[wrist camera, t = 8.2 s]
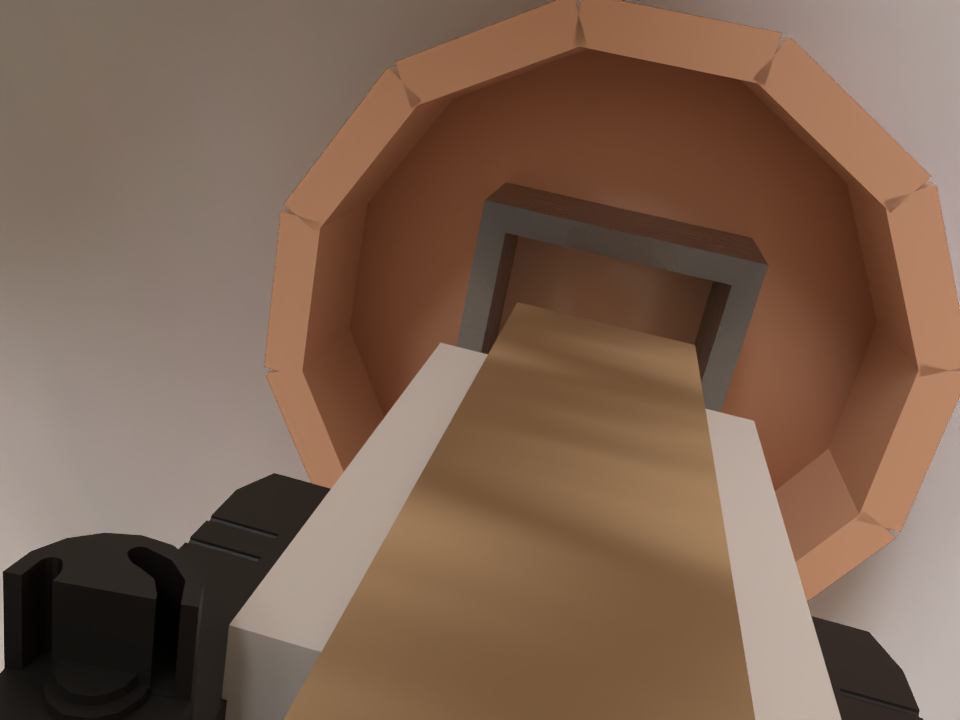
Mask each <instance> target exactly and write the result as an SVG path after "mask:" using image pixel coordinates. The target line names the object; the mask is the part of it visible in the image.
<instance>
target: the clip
mask: <svg viewBox="0 0 960 720" xmlns="http://www.w3.org/2000/svg"><path fill="white" fill-rule="evenodd" d="M519 236H522V237H526V238H531V239H535V240H539V241H544V242H548V243H552V244H556V245H561V246H565V247H569V248H574V249H578V250H582V251H587V252H591V253H595V254H599V255H604V256H608V257H612V258H617V259H621V260H625V261H630V262H634V263H638V264H642V265H647V266H651V267H655V268H660V269H664V270H668V271H673V272H677V273H681V274H685V275H690V276H694V277H698V278H703V279H707V280H711V281H713V284H712V287H711V290H710V294H709V297H708V300H707V303H706V307H705V310H704V313H703V317H702V320H701V323H700V326H699V330H698V333H697V336H696V340H695V343H694V345H695V347H696V354H697V360H698V366H699V372H700V378H701V385H702V391H703V397H704V403H705V409H709V410H713V411H717V412H721V409H722V406H723V403H724V400H725V397H726V394H727V391H728V388H729V385H730V382H731V379H732V376H733V373H734V370H735V366H736V363H737V360H738V357H739V354H740V351H741V348H742V345H743V342H744V339H745V336H746V333H747V330H748V327H749V324H750V320H751V317H752V314H753V311H754V308H755V305H756V302H757V299H758V296H759V293H760V290H761V287H762V284H763V281H764V277H765V274H766V271H767V268H768V263H767V262H766V260H765V258H764V257H763V255H762V253H761V251H760V250H759V248H758V246H757V245H756V243H755V241H754V240H753V238H751V237H746V236H742V235H738V234H733V233H729V232H724V231H720V230H715V229H711V228H707V227H702V226H698V225H693V224H689V223H684V222H680V221H676V220H671V219H667V218H662V217H658V216H653V215H649V214H645V213H640V212H636V211H631V210H627V209H622V208H618V207H614V206H609V205H605V204H600V203H596V202H591V201H587V200H583V199H578V198H574V197H569V196H565V195H560V194H556V193H552V192H547V191H543V190H538V189H534V188H530V187H525V186H521V185H516V184H512V183H507V182H506V183H504V184H503V185H502V186H501V187H500V188H498V189H497V190H496V191H495V192H494V193H493V194H491V195H490V196H489V197H488V198H487V199H485V201H484V206H483V211H482V216H481V222H480V227H479V232H478V237H477V242H476V247H475V253H474V258H473V263H472V268H471V273H470V278H469V283H468V289H467V294H466V299H465V304H464V309H463V314H462V320H461V325H460V330H459V335H458V340H457V345H456V347H460V348H464V349H468V350H472V351H476V352H480V353H484V354H489V352H490V350H491V348H492V347H493V345H494V343H495V341H496V339H497V336H498V331H499V327H500V322H501V317H502V312H503V308H504V303H505V298H506V294H507V289H508V284H509V279H510V275H511V270H512V265H513V261H514V256H515V251H516V246H517V242H518V237H519Z"/></svg>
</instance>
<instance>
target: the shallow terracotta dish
mask: <svg viewBox="0 0 960 720" xmlns="http://www.w3.org/2000/svg"><path fill="white" fill-rule="evenodd" d="M780 36H781V33H780V32H775V31H770V30H765V29H760V28H755V27H750V26H745V25H740V24H735V23H730V22H725V21H720V20H715V19H710V18H705V17H700V16H695V15H690V14H685V13H680V12H675V11H670V10H665V9H660V8H655V7H650V6H645V5H640V4H635V3H630V2H624V1H619V0H582V2H581V1H580V0H556V1H554V2H551V3H548V4H546V5H543V6H541V7H538V8H535V9H533V10H530V11H527V12H525V13H522V14H520V15H517V16H514V17H512V18H509V19H506V20H504V21H501V22H499V23H496V24H493V25H491V26H488V27H485V28H483V29H480V30H478V31H475V32H472V33H470V34H467V35H465V36H462V37H459V38H457V39H454V40H451V41H449V42H446V43H444V44H441V45H438V46H436V47H433V48H430V49H428V50H425V51H423V52H420V53H417V54H415V55H412V56H409V57H407V58H404V59H402V60H399V61H396V62H395V63H396V66H397V68H387V69H386V70H385V72H384V73H383V74H382V76H381V77H380V78H379V79H378V81H377V82H376V83H375V85H374V86H373V87H372V89H371V90H370V91H369V93H368V94H367V95H366V97H365V98H364V99H363V101H362V102H361V103H360V104H359V106H358V107H357V108H356V110H355V111H354V112H353V114H352V115H351V116H350V118H349V119H348V120H347V122H346V123H345V124H344V126H343V127H342V128H341V129H340V131H339V132H338V133H337V135H336V136H335V137H334V139H333V140H332V141H331V143H330V144H329V145H328V147H327V148H326V149H325V151H324V152H323V153H322V154H321V156H320V157H319V158H318V160H317V161H316V162H315V164H314V165H313V166H312V168H311V169H310V170H309V172H308V173H307V174H306V176H305V177H304V178H303V179H302V181H301V182H300V183H299V185H298V186H297V187H296V189H295V190H294V191H293V193H292V194H291V195H290V197H289V198H288V199H287V201H286V202H285V203H284V205H285V206H287V207H288V208H289V209H287V210H285V211H282V212H281V214H280V224H279V233H278V242H277V252H276V261H275V271H274V280H273V289H272V299H271V308H270V318H269V327H268V337H267V346H266V355H265V365H264V367H265V368H269V369H272V370H271V371H270V372H269V373H267V374H266V378H267V380H268V382H269V385H270V387H271V389H272V392H273V394H274V396H275V399H276V401H277V404H278V406H279V408H280V411H281V413H282V415H283V418H284V420H285V422H286V425H287V427H288V429H289V432H290V434H291V437H292V439H293V441H294V444H295V446H296V448H297V451H298V453H299V455H300V458H301V460H302V463H303V465H304V467H305V470H306V472H307V474H308V477H309V479H310V481H311V483H312V484H316V485H319V486H323V487H327V488H330V489H331V488H332V487H333V486H334V484H335V483H336V482H337V480H338V479H339V478H340V476H341V475H342V474H343V472H344V471H345V470H346V468H347V467H348V466H349V464H350V463H351V462H352V460H353V459H354V458H355V456H356V455H357V454H358V452H359V451H360V450H361V448H362V447H363V445H364V444H365V443H366V441H367V440H368V439H369V437H370V436H371V435H372V433H373V432H374V431H375V429H376V428H377V427H378V425H379V424H380V423H381V421H382V420H383V419H384V417H385V416H386V415H387V413H388V412H389V411H390V409H391V408H392V407H393V405H394V404H395V403H396V401H397V400H398V399H399V397H400V396H401V395H402V393H403V392H404V391H405V389H406V388H407V387H408V385H409V384H410V383H411V381H412V380H413V379H414V377H415V376H416V375H417V373H418V372H419V371H420V369H421V368H422V367H423V365H424V364H425V363H426V361H427V360H428V359H429V357H430V356H431V355H432V353H433V352H434V351H435V349H436V348H437V347H438V345H439V344H440V343H444V344H448V345H452V346H456V345H457V340H458V335H459V330H460V325H461V320H462V314H463V309H464V304H465V299H466V294H467V289H468V283H469V278H470V273H471V268H472V263H473V258H474V253H475V247H476V242H477V237H478V232H479V227H480V222H481V216H482V211H483V206H484V201H485V199H487V198H488V197H489V196H490V195H491V194H493V193H494V192H495V191H496V190H497V189H498V188H500V187H501V186H502V185H503V184H504V183H506V182H507V183H512V184H516V185H521V186H525V187H530V188H534V189H538V190H543V191H547V192H552V193H556V194H560V195H565V196H569V197H574V198H578V199H583V200H587V201H591V202H596V203H600V204H605V205H609V206H614V207H618V208H622V209H627V210H631V211H636V212H640V213H645V214H649V215H653V216H658V217H662V218H667V219H671V220H676V221H680V222H684V223H689V224H693V225H698V226H702V227H707V228H711V229H715V230H720V231H724V232H729V233H733V234H738V235H742V236H746V237H751V238H753V240H754V241H755V243H756V245H757V246H758V248H759V250H760V251H761V253H762V255H763V257H764V258H765V260H766V262H767V263H768V268H767V271H766V274H765V277H764V281H763V284H762V287H761V290H760V293H759V296H758V299H757V302H756V305H755V308H754V311H753V314H752V317H751V320H750V324H749V327H748V330H747V333H746V336H745V339H744V342H743V345H742V348H741V351H740V354H739V357H738V360H737V363H736V366H735V370H734V373H733V376H732V379H731V382H730V385H729V388H728V391H727V394H726V397H725V400H724V403H723V406H722V409H721V413H725V414H729V415H733V416H737V417H741V418H745V419H749V420H753V421H754V422H755V426H756V429H757V433H758V436H759V439H760V443H761V446H762V450H763V453H764V457H765V460H766V463H767V467H768V470H769V474H770V477H771V480H772V484H773V487H774V491H775V494H776V498H777V501H778V504H779V508H780V511H781V515H782V518H783V521H784V525H785V528H786V532H787V535H788V539H789V542H790V545H791V549H792V552H793V556H794V559H795V562H796V566H797V569H798V573H799V576H800V580H801V583H802V586H803V590H804V593H805V597H806V600H807V601H809V600H810V599H811V598H813V597H814V596H816V595H817V594H818V593H820V592H821V591H823V590H824V589H825V588H827V587H828V586H830V585H831V584H832V583H834V582H835V581H836V580H838V579H839V578H841V577H842V576H843V575H845V574H846V573H848V572H849V571H850V570H852V569H853V568H855V567H856V566H857V565H859V564H860V563H861V562H863V561H864V560H866V559H867V558H868V557H870V556H871V555H873V554H874V553H875V552H877V551H878V550H880V549H881V548H882V547H884V546H885V545H886V544H888V543H889V542H891V541H892V540H893V539H895V538H894V536H893V534H892V532H891V530H890V529H893V530H896V531H900V532H901V529H902V527H903V525H904V523H905V520H906V518H907V516H908V513H909V511H910V509H911V507H912V504H913V502H914V500H915V497H916V495H917V493H918V491H919V488H920V486H921V484H922V481H923V479H924V477H925V474H926V472H927V470H928V468H929V465H930V463H931V461H932V458H933V456H934V454H935V452H936V449H937V447H938V445H939V442H940V440H941V438H942V436H943V433H944V431H945V429H946V426H947V424H948V422H949V420H950V417H951V415H952V413H953V410H954V408H955V406H956V404H957V401H958V399H959V397H960V309H959V304H958V298H957V293H956V287H955V282H954V277H953V271H952V266H951V261H950V255H949V250H948V245H947V239H946V234H945V228H944V223H943V218H942V212H941V207H940V202H939V196H938V191H937V186H936V185H934V184H932V183H930V182H927V180H928V179H929V178H930V177H932V176H931V175H930V174H929V173H928V172H927V171H926V170H925V169H924V168H923V167H922V166H921V165H920V164H919V163H918V162H917V161H916V160H914V159H913V158H912V157H911V156H910V155H909V154H908V153H907V152H906V151H905V150H904V149H903V148H902V147H901V146H900V145H899V144H898V143H897V142H896V141H895V140H894V139H893V138H892V137H891V136H890V135H889V134H888V133H887V132H886V131H885V130H884V129H883V128H882V127H881V126H880V125H879V124H878V123H877V122H876V121H875V120H874V119H873V118H872V117H871V116H870V115H869V114H868V113H867V112H866V111H865V110H864V109H863V108H862V107H861V106H860V105H859V104H858V103H857V102H856V101H855V100H854V99H853V98H852V97H851V96H850V95H849V94H848V93H847V92H845V91H844V90H843V89H842V88H841V87H840V86H839V85H838V84H837V83H836V82H835V81H834V80H833V79H832V78H831V77H830V76H829V75H828V74H827V73H826V72H825V71H824V70H823V69H822V68H821V67H820V66H819V65H818V64H817V63H816V62H815V61H814V60H813V59H812V58H811V57H810V56H809V55H808V54H807V53H806V52H805V51H804V50H803V49H802V48H801V47H800V46H799V45H798V44H797V43H796V42H795V41H794V40H793V39H792V38H786V39H780ZM779 39H780V40H779ZM712 284H713V281H711V280H707V279H703V278H698V277H694V276H690V275H685V274H681V273H677V272H673V271H668V270H664V269H660V268H655V267H651V266H647V265H642V264H638V263H634V262H630V261H625V260H621V259H617V258H612V257H608V256H604V255H599V254H595V253H591V252H587V251H582V250H578V249H574V248H569V247H565V246H561V245H556V244H552V243H548V242H544V241H539V240H535V239H531V238H526V237H522V236H519V237H518V242H517V246H516V251H515V256H514V261H513V265H512V270H511V275H510V279H509V284H508V289H507V294H506V298H505V303H504V308H503V312H502V317H501V322H500V327H499V331H498V336H499V334H500V332H501V330H502V329H503V327H504V325H505V323H506V322H507V320H508V318H509V316H510V314H511V313H512V311H513V309H514V307H515V305H516V304H517V302H519V303H523V304H528V305H532V306H536V307H540V308H544V309H548V310H552V311H556V312H561V313H565V314H569V315H573V316H577V317H581V318H585V319H589V320H594V321H598V322H602V323H606V324H610V325H614V326H618V327H622V328H627V329H631V330H635V331H639V332H643V333H647V334H651V335H656V336H660V337H664V338H668V339H672V340H676V341H680V342H684V343H689V344H693V345H694V343H695V340H696V336H697V333H698V330H699V326H700V323H701V320H702V317H703V313H704V310H705V307H706V303H707V300H708V297H709V294H710V290H711V287H712ZM498 336H497V338H498Z"/></svg>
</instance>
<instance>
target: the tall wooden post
mask: <svg viewBox="0 0 960 720" xmlns="http://www.w3.org/2000/svg"><path fill="white" fill-rule="evenodd" d="M284 720H755V715H754V708H753V702H752V696H751V690H750V683H749V677H748V671H747V665H746V659H745V652H744V646H743V640H742V634H741V627H740V621H739V615H738V609H737V603H736V596H735V590H734V584H733V578H732V571H731V565H730V559H729V553H728V546H727V540H726V534H725V528H724V522H723V515H722V509H721V503H720V497H719V490H718V484H717V478H716V472H715V466H714V459H713V453H712V447H711V441H710V434H709V428H708V422H707V416H706V410H705V403H704V397H703V391H702V385H701V378H700V372H699V366H698V360H697V354H696V347H695V345H693V344H689V343H684V342H680V341H676V340H672V339H668V338H664V337H660V336H656V335H651V334H647V333H643V332H639V331H635V330H631V329H627V328H622V327H618V326H614V325H610V324H606V323H602V322H598V321H594V320H589V319H585V318H581V317H577V316H573V315H569V314H565V313H561V312H556V311H552V310H548V309H544V308H540V307H536V306H532V305H528V304H523V303H519V302H517V304H516V305H515V307H514V309H513V311H512V313H511V314H510V316H509V318H508V320H507V322H506V323H505V325H504V327H503V329H502V330H501V332H500V334H499V336H498V338H497V339H496V341H495V343H494V345H493V347H492V348H491V350H490V352H489V354H488V355H487V357H486V359H485V361H484V363H483V364H482V366H481V368H480V370H479V372H478V373H477V375H476V377H475V379H474V380H473V382H472V384H471V386H470V388H469V389H468V391H467V393H466V395H465V397H464V398H463V400H462V402H461V404H460V405H459V407H458V409H457V411H456V413H455V414H454V416H453V418H452V420H451V422H450V423H449V425H448V427H447V429H446V430H445V432H444V434H443V436H442V438H441V439H440V441H439V443H438V445H437V447H436V448H435V450H434V452H433V454H432V455H431V457H430V459H429V461H428V463H427V464H426V466H425V468H424V470H423V472H422V473H421V475H420V477H419V479H418V480H417V482H416V484H415V486H414V488H413V489H412V491H411V493H410V495H409V497H408V498H407V500H406V502H405V504H404V505H403V507H402V509H401V511H400V513H399V514H398V516H397V518H396V520H395V522H394V523H393V525H392V527H391V529H390V530H389V532H388V534H387V536H386V538H385V539H384V541H383V543H382V545H381V547H380V548H379V550H378V552H377V554H376V555H375V557H374V559H373V561H372V563H371V564H370V566H369V568H368V570H367V572H366V573H365V575H364V577H363V579H362V580H361V582H360V584H359V586H358V588H357V589H356V591H355V593H354V595H353V597H352V598H351V600H350V602H349V604H348V605H347V607H346V609H345V611H344V613H343V614H342V616H341V618H340V620H339V622H338V623H337V625H336V627H335V629H334V630H333V632H332V634H331V636H330V638H329V639H328V641H327V643H326V645H325V646H324V648H323V650H322V652H321V654H320V655H319V657H318V659H317V661H316V663H315V664H314V666H313V668H312V670H311V671H310V673H309V675H308V677H307V679H306V680H305V682H304V684H303V686H302V688H301V689H300V691H299V693H298V695H297V696H296V698H295V700H294V702H293V704H292V705H291V707H290V709H289V711H288V713H287V714H286V716H285V718H284Z"/></svg>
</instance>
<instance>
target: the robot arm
mask: <svg viewBox="0 0 960 720" xmlns="http://www.w3.org/2000/svg"><path fill="white" fill-rule="evenodd" d="M487 355H488V354H484V353H480V352H476V351H472V350H468V349H464V348H460V347H456V346H452V345H448V344H444V343H440V344H439V345H438V347H437V348H436V349H435V351H434V352H433V353H432V355H431V356H430V357H429V359H428V360H427V361H426V363H425V364H424V365H423V367H422V368H421V369H420V371H419V372H418V373H417V375H416V376H415V377H414V379H413V380H412V381H411V383H410V384H409V385H408V387H407V388H406V389H405V391H404V392H403V393H402V395H401V396H400V397H399V399H398V400H397V401H396V403H395V404H394V405H393V407H392V408H391V409H390V411H389V412H388V413H387V415H386V416H385V417H384V419H383V420H382V421H381V423H380V424H379V425H378V427H377V428H376V429H375V431H374V432H373V433H372V435H371V436H370V437H369V439H368V440H367V441H366V443H365V444H364V445H363V447H362V448H361V450H360V451H359V452H358V454H357V455H356V456H355V458H354V459H353V460H352V462H351V463H350V464H349V466H348V467H347V468H346V470H345V471H344V472H343V474H342V475H341V476H340V478H339V479H338V480H337V482H336V483H335V484H334V486H333V487H332V488H331V489H330V488H327V487H323V486H319V485H316V484H312V483H308V482H305V481H301V480H297V479H294V478H290V477H286V476H283V475H279V474H275V473H274V474H272V475H269V476H267V477H265V478H262V479H260V480H258V481H256V482H253V483H251V484H249V485H247V486H244V487H242V488H240V489H237V490H236V491H235V492H234V493H233V494H232V495H231V496H230V497H229V498H228V499H227V500H226V501H225V502H224V503H223V504H222V505H221V506H220V507H219V508H218V509H217V510H216V511H215V513H214V514H213V515H212V516H211V520H210V521H206V522H205V523H204V524H203V525H202V526H201V527H200V528H199V529H198V530H197V531H196V532H195V533H194V534H193V535H192V536H191V538H190V541H189V543H184V545H183V546H182V547H181V548H180V549H179V550H178V549H177V548H176V547H174V546H173V545H170V544H167V543H164V542H161V541H158V540H154V539H151V538H148V537H145V536H142V535H128V534H113V533H101V534H94V535H87V536H80V537H72V538H66V539H63V540H61V541H58V542H55V543H53V544H50V545H47V546H44V547H42V548H39V549H36V550H34V551H31V552H30V553H28V554H27V555H25V556H24V557H23V558H21V559H20V560H19V561H17V562H16V563H14V564H13V565H12V566H10V567H9V568H8V569H6V570H5V571H3V593H4V658H5V669H4V670H3V671H2V672H1V673H0V720H284V718H285V716H286V714H287V713H288V711H289V709H290V707H291V705H292V704H293V702H294V700H295V698H296V696H297V695H298V693H299V691H300V689H301V688H302V686H303V684H304V682H305V680H306V679H307V677H308V675H309V673H310V671H311V670H312V668H313V666H314V664H315V663H316V661H317V659H318V657H319V655H320V654H321V652H322V650H323V648H324V646H325V645H326V643H327V641H328V639H329V638H330V636H331V634H332V632H333V630H334V629H335V627H336V625H337V623H338V622H339V620H340V618H341V616H342V614H343V613H344V611H345V609H346V607H347V605H348V604H349V602H350V600H351V598H352V597H353V595H354V593H355V591H356V589H357V588H358V586H359V584H360V582H361V580H362V579H363V577H364V575H365V573H366V572H367V570H368V568H369V566H370V564H371V563H372V561H373V559H374V557H375V555H376V554H377V552H378V550H379V548H380V547H381V545H382V543H383V541H384V539H385V538H386V536H387V534H388V532H389V530H390V529H391V527H392V525H393V523H394V522H395V520H396V518H397V516H398V514H399V513H400V511H401V509H402V507H403V505H404V504H405V502H406V500H407V498H408V497H409V495H410V493H411V491H412V489H413V488H414V486H415V484H416V482H417V480H418V479H419V477H420V475H421V473H422V472H423V470H424V468H425V466H426V464H427V463H428V461H429V459H430V457H431V455H432V454H433V452H434V450H435V448H436V447H437V445H438V443H439V441H440V439H441V438H442V436H443V434H444V432H445V430H446V429H447V427H448V425H449V423H450V422H451V420H452V418H453V416H454V414H455V413H456V411H457V409H458V407H459V405H460V404H461V402H462V400H463V398H464V397H465V395H466V393H467V391H468V389H469V388H470V386H471V384H472V382H473V380H474V379H475V377H476V375H477V373H478V372H479V370H480V368H481V366H482V364H483V363H484V361H485V359H486V357H487ZM705 410H706V416H707V422H708V428H709V434H710V441H711V447H712V453H713V459H714V466H715V472H716V478H717V484H718V490H719V497H720V503H721V509H722V515H723V522H724V528H725V534H726V540H727V546H728V553H729V559H730V565H731V571H732V578H733V584H734V590H735V596H736V603H737V609H738V615H739V621H740V627H741V634H742V640H743V646H744V652H745V659H746V665H747V671H748V677H749V683H750V690H751V696H752V702H753V708H754V715H755V720H923V718H919V711H920V710H919V708H918V706H917V703H916V701H915V698H914V696H913V694H912V691H911V689H910V687H909V684H908V682H907V679H906V677H905V675H904V672H903V670H902V669H901V668H900V667H899V666H898V665H897V663H896V662H895V661H894V660H893V659H892V658H891V657H890V655H889V654H888V653H887V652H886V651H885V650H884V649H883V648H882V646H881V645H880V644H879V643H878V642H877V641H876V640H875V638H874V637H873V636H872V635H871V634H870V633H869V632H867V631H864V630H860V629H856V628H853V627H849V626H845V625H842V624H838V623H834V622H831V621H827V620H823V619H820V618H816V617H812V616H811V614H810V610H809V607H808V603H807V600H806V597H805V593H804V590H803V586H802V583H801V580H800V576H799V573H798V569H797V566H796V562H795V559H794V556H793V552H792V549H791V545H790V542H789V539H788V535H787V532H786V528H785V525H784V521H783V518H782V515H781V511H780V508H779V504H778V501H777V498H776V494H775V491H774V487H773V484H772V480H771V477H770V474H769V470H768V467H767V463H766V460H765V457H764V453H763V450H762V446H761V443H760V439H759V436H758V433H757V429H756V426H755V422H754V421H753V420H749V419H745V418H741V417H737V416H733V415H729V414H725V413H721V412H717V411H713V410H709V409H705Z"/></svg>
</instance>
